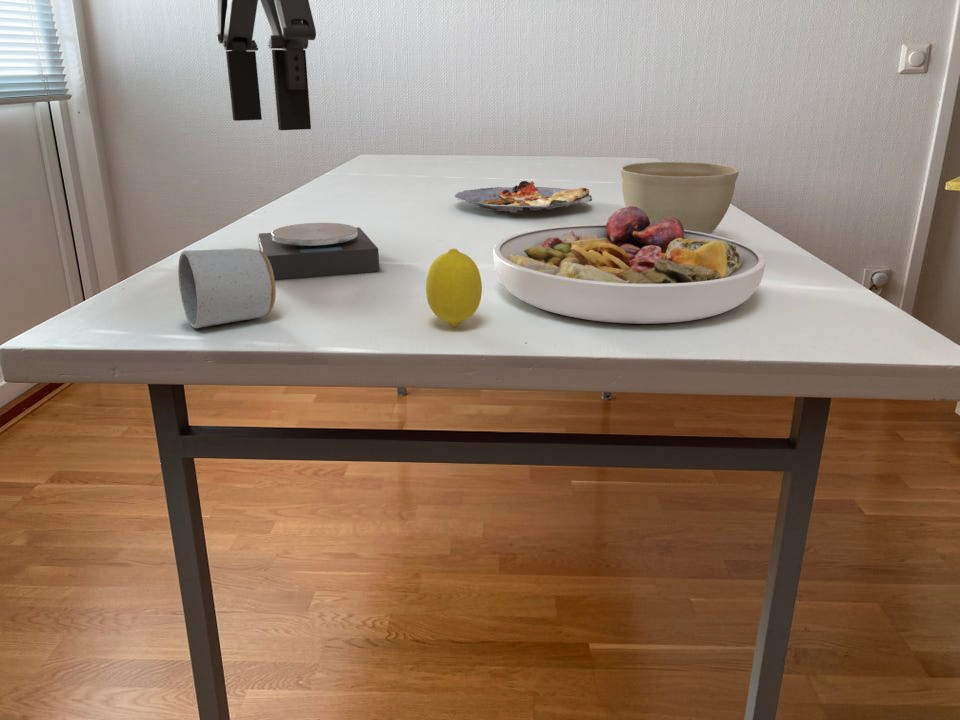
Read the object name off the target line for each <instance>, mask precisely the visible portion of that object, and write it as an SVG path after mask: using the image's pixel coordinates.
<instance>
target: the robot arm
mask: <svg viewBox="0 0 960 720" xmlns="http://www.w3.org/2000/svg"><path fill="white" fill-rule="evenodd" d="M258 4H259V0H217V19H216V20H217V23H216V33H217V34H216V40H217V42H218V44H222V46H223V49H224V51H225V56H226V66H227V74H228V84H229V85H228V86H229V93H230V94H229V95H230V104H231V113H232V120H233V121H234V122H237V121H239V122H240V121H241V122H242V121H263V118H262V108H261V96H260V85H259V76H258V64H257V55H256V52H257V51H259V47H258V44H257V42H256V40H255V39H253V38H254V37H253V36H254V31H255V24H256V23H255V22H256V17H257V10H258ZM260 4H261V5H262V8H263V12H264V15H265V17H266V20H267V24H268V26H269V29H270V31H271V34H272V35H269V37H270V38H269V39H268V42H267V47H268V49H271V59H272V69H273V71H272V72H273V81H274V94H275V105H276V117H277V129H278V131H297V130H299V131H300V130H301V131H302V130H312V123H311V109H310V108H311V107H310V94H309V93H310V92H309V82H308V81H309V80H308V67H307V66H308V65H307V54H306V53H307V51H306V50H307V49H308V47H309V41H316V37H317V30H316V25H315V21H314V18H313V13H312V10H311V5H310V1H309V0H260Z"/></svg>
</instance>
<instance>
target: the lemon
mask: <svg viewBox="0 0 960 720" xmlns="http://www.w3.org/2000/svg"><path fill="white" fill-rule="evenodd" d="M426 275H427V276H426V281H425V294H426V300H427V304H428V306H429V308H430V310H431V312H432V313H433V314H434V315H435V316H436V317H437V318H439V319H440V320H442V321H445V322H446V323H448V325H449V326H450V327H452V328H456V327H458V326H459V325H460V324H461V323H462V322H463V321H466V320H468V319H469V318H471V317H473V315H474V314H475V313H476V311H478V308H479V306H480V303H481V299H482V292H483V285H482V284H483V283H482V277H481V273H480V270H479V268H478V266H477V264H476V263H475V261H474V260H473V259H472V258H471V257H470V256H468V255H467V254H465V253H463V252H461V251H459V250H458V249H457V248H449V250H448V251H447V252H444V253H442V254H440V255H439V256H437V257H436V258H435V259H434V260H433V261H432V263H431V264H430V265H429V268H428V272H427V274H426Z"/></svg>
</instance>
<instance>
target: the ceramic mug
mask: <svg viewBox="0 0 960 720" xmlns="http://www.w3.org/2000/svg"><path fill="white" fill-rule="evenodd" d="M177 268H178V269H177V272H178V273H177V275H178V287H179V293H180V298H181V302H182V307H183V310H184V314H185V317H186V319H187V321H188V323H189V325H190V326H191V327H192V328H194V329H200V328H206V327H212V326H219V325H224V324H229V323H235V322H241V321H242V322H243V321H250V320H255V319H259V318H261V317H264V316H266V315H269V314H270V313H271V312H272V311H273V309H274V306H275V303H276V293H277V291H276V290H277V289H276V280H275V279H274V274H273V269H272V266H271V264H270V261H269V259H268V258H267V256H266V255H265V254H264V253H263V252H262V251H260V250H259V249H254V248H248V247H243V248H241V247H240V248H219V249H218V248H216V249H215V248H213V249H186V250H182V252H181V253H180V255H179V257H178V267H177Z"/></svg>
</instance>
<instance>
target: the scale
mask: <svg viewBox="0 0 960 720" xmlns="http://www.w3.org/2000/svg"><path fill="white" fill-rule="evenodd" d="M356 228H357V232H358V235H357V237H356V238H355V239H353V240H350V241H347V242H343V243H338V244H331V245H321V246H293V245H285V244H280V243H277V242H274V241H273V240H272V232H261V233H259V232H258V233H257V241H258V247H259V249H258V250H260V251H262V252H263V253H264V254H265V255H266V256H267V258H268V259H269V261H270V264H271V266H272V269H273V274H274V279H275V281H276V280H288V279H301V278H312V277H327V276H338V275H339V276H340V275H341V276H342V275H350V274H352V275H353V274H366V273H376V272H377V273H378V272H380V256H379V248H378V246H376V244H375V243H374V242H373V241H372V240H371V238H370V237H369V236H368V235H367V234H366V233H365V232H364V230H362V228H361V227H359V226H358V227H356Z"/></svg>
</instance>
